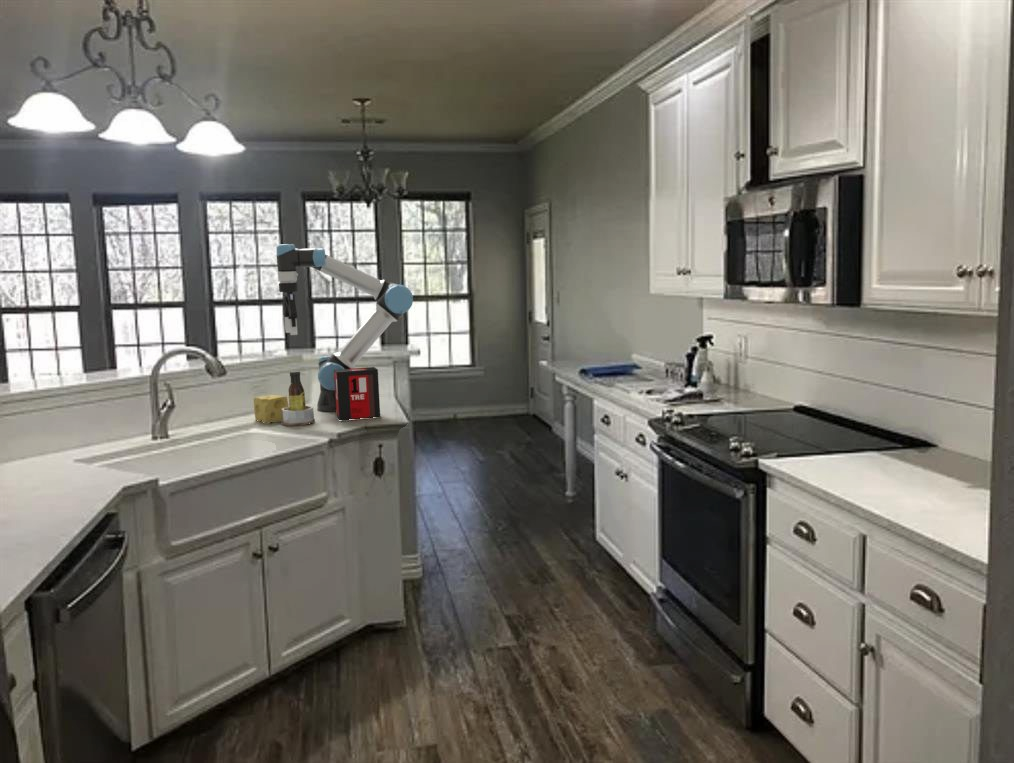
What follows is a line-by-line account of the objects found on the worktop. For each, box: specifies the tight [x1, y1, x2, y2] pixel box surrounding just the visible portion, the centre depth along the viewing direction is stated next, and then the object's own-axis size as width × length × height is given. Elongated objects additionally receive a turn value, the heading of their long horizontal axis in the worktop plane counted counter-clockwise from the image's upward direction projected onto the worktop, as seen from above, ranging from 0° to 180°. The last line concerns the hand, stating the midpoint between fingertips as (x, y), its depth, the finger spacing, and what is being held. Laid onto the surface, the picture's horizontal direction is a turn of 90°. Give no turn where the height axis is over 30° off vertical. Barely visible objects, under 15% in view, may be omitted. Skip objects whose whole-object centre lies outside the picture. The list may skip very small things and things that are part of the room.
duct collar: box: [281, 405, 315, 423], centre depth 345 cm, size 12×12×5 cm
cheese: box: [253, 394, 289, 424], centre depth 353 cm, size 10×11×10 cm
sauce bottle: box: [288, 370, 307, 411], centre depth 344 cm, size 7×6×20 cm
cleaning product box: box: [334, 366, 381, 421], centre depth 351 cm, size 16×9×20 cm, turn 108°
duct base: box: [281, 418, 316, 427], centre depth 345 cm, size 13×13×1 cm
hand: (291, 333), depth 356 cm, fingers open, 13 cm apart
